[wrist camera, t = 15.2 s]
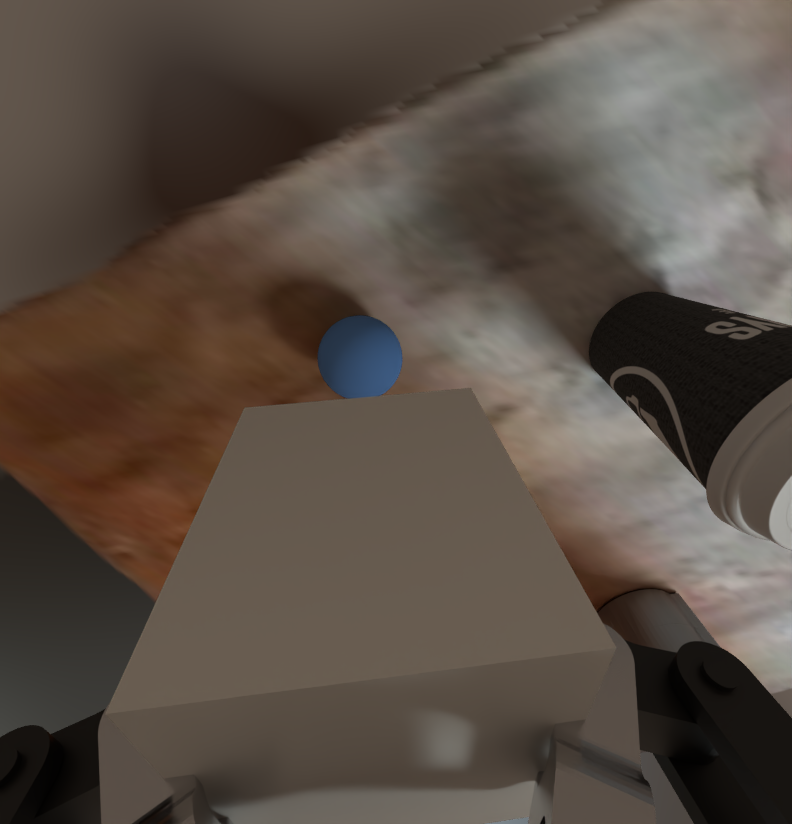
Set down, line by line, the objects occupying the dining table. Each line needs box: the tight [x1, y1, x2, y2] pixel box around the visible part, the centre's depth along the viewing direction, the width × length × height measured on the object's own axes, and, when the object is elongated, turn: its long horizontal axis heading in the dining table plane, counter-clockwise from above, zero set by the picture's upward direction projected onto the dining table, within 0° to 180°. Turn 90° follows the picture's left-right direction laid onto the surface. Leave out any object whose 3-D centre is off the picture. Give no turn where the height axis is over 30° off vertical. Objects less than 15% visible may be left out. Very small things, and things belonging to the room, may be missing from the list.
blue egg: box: [318, 315, 402, 399], centre depth 24 cm, size 5×5×5 cm
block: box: [105, 388, 616, 824], centre depth 10 cm, size 7×7×8 cm
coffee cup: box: [589, 292, 792, 550], centre depth 21 cm, size 10×10×15 cm
